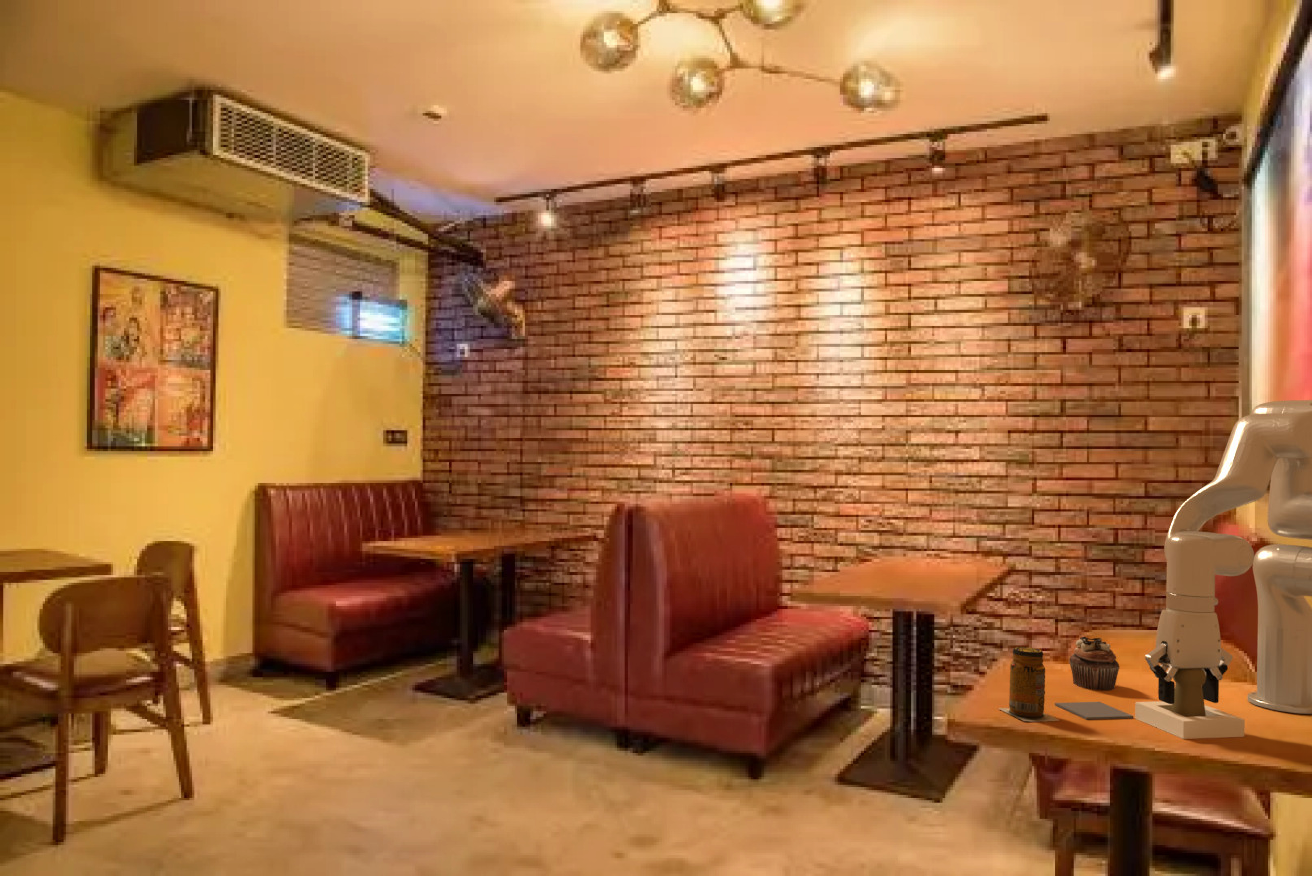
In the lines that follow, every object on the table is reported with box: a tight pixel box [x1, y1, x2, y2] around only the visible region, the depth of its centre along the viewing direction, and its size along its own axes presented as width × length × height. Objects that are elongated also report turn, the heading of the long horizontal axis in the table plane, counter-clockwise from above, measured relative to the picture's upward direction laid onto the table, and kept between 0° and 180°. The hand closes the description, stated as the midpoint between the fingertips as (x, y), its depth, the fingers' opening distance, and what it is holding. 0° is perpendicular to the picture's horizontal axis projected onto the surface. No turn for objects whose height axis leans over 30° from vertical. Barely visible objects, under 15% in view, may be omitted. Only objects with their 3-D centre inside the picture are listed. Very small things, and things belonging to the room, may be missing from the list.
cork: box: [1171, 669, 1206, 717], centre depth 165 cm, size 6×6×11 cm
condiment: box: [998, 646, 1061, 723], centre depth 170 cm, size 7×8×12 cm
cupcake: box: [1068, 636, 1120, 692], centre depth 194 cm, size 10×10×10 cm
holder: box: [1134, 700, 1245, 740], centre depth 165 cm, size 12×12×3 cm
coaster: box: [1054, 701, 1134, 721], centre depth 174 cm, size 10×10×1 cm
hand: (1188, 701), depth 165 cm, fingers open, 8 cm apart
